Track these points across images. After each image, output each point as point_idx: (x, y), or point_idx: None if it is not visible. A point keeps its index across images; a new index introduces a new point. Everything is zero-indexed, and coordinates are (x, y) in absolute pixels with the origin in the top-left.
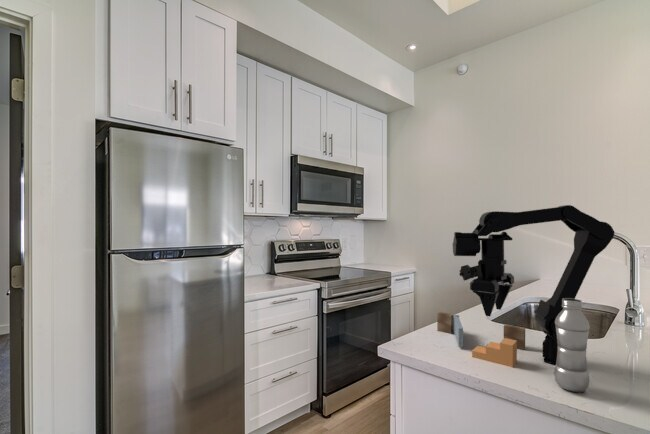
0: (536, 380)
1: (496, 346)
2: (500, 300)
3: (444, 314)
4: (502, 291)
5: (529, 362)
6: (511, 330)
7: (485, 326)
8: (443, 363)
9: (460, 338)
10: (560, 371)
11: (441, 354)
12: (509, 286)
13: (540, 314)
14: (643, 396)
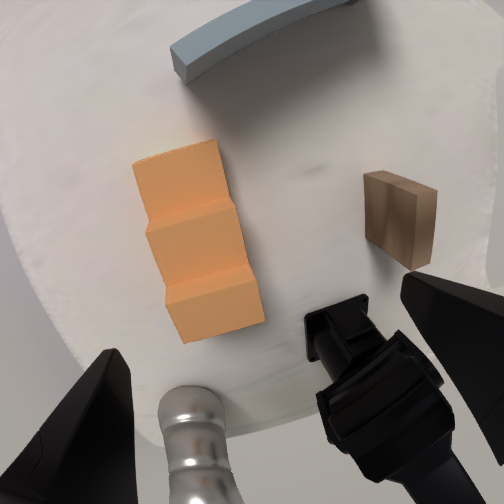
0: (158, 357)
1: (191, 258)
2: (450, 346)
3: None
4: (502, 405)
5: (270, 297)
6: (405, 222)
7: (469, 71)
8: (8, 153)
9: (177, 68)
10: (161, 425)
11: (61, 83)
12: (500, 464)
13: (379, 423)
14: (265, 428)
